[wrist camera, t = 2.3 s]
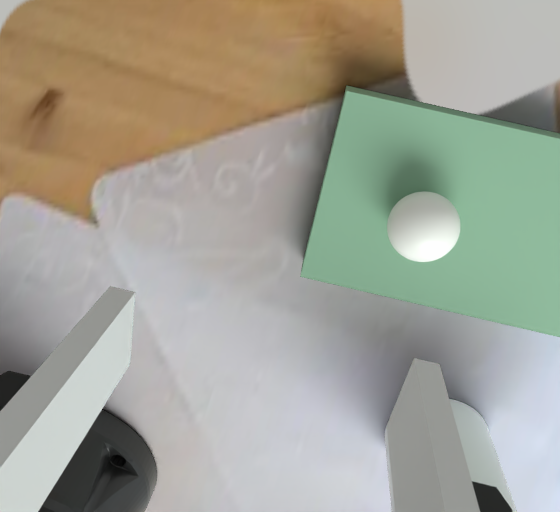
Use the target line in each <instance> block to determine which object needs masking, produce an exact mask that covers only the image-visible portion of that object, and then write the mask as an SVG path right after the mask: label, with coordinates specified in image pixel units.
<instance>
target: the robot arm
mask: <svg viewBox="0 0 560 512" xmlns="http://www.w3.org/2000/svg"><path fill="white" fill-rule="evenodd" d="M134 305H135V292H133V291H128V290H124V289H120V288H116V287H111V286H110V287H109V288H108V290H107V291H106V292H105V293H104V294H103V295H102V296H101V298H100V299H99V300H98V301H97V302H96V303H95V304H94V306H93V307H92V308H91V309H90V310H89V311H88V312H87V313H86V315H85V316H84V317H83V318H82V319H81V320H80V321H79V323H78V324H77V325H76V326H75V327H74V328H73V329H72V331H71V332H70V333H69V334H68V335H67V336H66V337H65V338H64V340H63V341H62V342H61V343H60V344H59V345H58V346H57V348H56V349H55V350H54V351H53V352H52V353H51V354H50V356H49V357H48V358H47V359H46V360H45V361H44V362H43V363H42V365H41V366H40V367H39V368H38V369H37V370H36V371H35V373H34V374H33V375H32V376H28V375H24V374H20V373H15V372H11V371H7V372H6V373H4V374H2V375H0V512H144V511H145V510H146V508H147V506H148V503H149V501H150V498H151V496H152V493H153V491H154V489H155V486H156V481H157V470H156V465H155V461H154V459H153V456H152V454H151V452H150V450H149V449H148V447H147V445H146V444H145V443H144V441H143V440H142V439H141V438H140V437H139V436H138V434H137V433H136V432H135V431H133V430H132V429H131V428H130V427H129V426H128V425H126V424H125V423H124V422H122V421H121V420H119V419H118V418H116V417H115V416H113V415H111V414H109V413H107V412H106V411H103V410H102V408H103V407H104V405H105V404H106V402H107V400H108V399H109V397H110V396H111V394H112V392H113V391H114V389H115V388H116V386H117V384H118V383H119V381H120V380H121V378H122V376H123V375H124V373H125V372H126V370H127V368H128V367H129V365H130V359H131V345H132V332H133V318H134ZM387 435H388V445H389V455H390V465H391V474H392V484H393V494H394V504H395V512H512V509H511V507H510V506H509V504H508V503H507V501H506V500H505V499H504V497H503V496H502V494H501V493H500V492H499V490H498V489H497V487H494V486H490V485H486V484H482V483H477V482H473V481H472V480H471V477H470V473H469V469H468V466H467V462H466V458H465V455H464V451H463V447H462V444H461V440H460V436H459V433H458V429H457V426H456V422H455V418H454V415H453V411H452V407H451V404H450V400H449V396H448V393H447V389H446V385H445V382H444V378H443V374H442V371H441V367H440V364H437V363H433V362H429V361H425V360H420V359H416V358H414V359H413V362H412V364H411V367H410V369H409V372H408V374H407V377H406V379H405V381H404V384H403V386H402V389H401V391H400V394H399V396H398V399H397V401H396V404H395V406H394V409H393V411H392V413H391V416H390V418H389V421H388V423H387Z"/></svg>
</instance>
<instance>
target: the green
mask: <svg viewBox="0 0 560 512" xmlns="http://www.w3.org/2000/svg"><path fill="white" fill-rule="evenodd" d="M423 191H426V192H433V193H437V194H439V195H441V196H443V197H445V198H446V199H448V200H449V201H450V202H451V203H452V204H453V206H454V207H455V208H456V210H457V212H458V215H459V218H460V234H459V238H458V240H457V242H456V244H455V246H454V247H453V248H452V249H451V251H449V252H448V253H447V254H446V255H445V256H443V257H441V258H439V259H437V260H434V261H430V262H417V261H412V260H409V259H407V258H405V257H404V256H402V255H401V254H399V253H398V252H397V251H396V250H395V249H394V247H393V246H392V244H391V242H390V240H389V237H388V233H387V221H388V217H389V215H390V212H391V210H392V209H393V207H394V206H395V205H396V204H397V202H398V201H400V200H401V199H402V198H404V197H405V196H407V195H409V194H412V193H415V192H423ZM300 277H304V278H308V279H313V280H317V281H321V282H326V283H330V284H334V285H338V286H343V287H347V288H351V289H356V290H360V291H364V292H368V293H373V294H377V295H381V296H386V297H390V298H394V299H398V300H403V301H407V302H411V303H416V304H420V305H424V306H428V307H433V308H437V309H441V310H446V311H450V312H454V313H458V314H463V315H467V316H471V317H476V318H480V319H484V320H488V321H493V322H497V323H501V324H506V325H510V326H514V327H518V328H523V329H527V330H531V331H536V332H540V333H544V334H548V335H553V336H557V337H560V133H556V132H552V131H547V130H543V129H538V128H534V127H529V126H525V125H520V124H516V123H512V122H507V121H503V120H498V119H494V118H489V117H485V116H480V115H476V114H471V113H467V112H463V111H458V110H454V109H449V108H445V107H440V106H436V105H431V104H427V103H423V102H418V101H414V100H409V99H405V98H400V97H396V96H391V95H387V94H383V93H378V92H374V91H369V90H365V89H360V88H356V87H351V86H347V85H346V89H345V93H344V97H343V102H342V106H341V110H340V114H339V118H338V122H337V126H336V130H335V134H334V138H333V142H332V146H331V150H330V154H329V158H328V162H327V166H326V170H325V174H324V178H323V182H322V186H321V190H320V195H319V199H318V203H317V207H316V211H315V215H314V219H313V223H312V227H311V231H310V235H309V239H308V243H307V247H306V251H305V255H304V259H303V265H302V270H301V276H300Z"/></svg>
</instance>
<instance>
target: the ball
mask: <svg viewBox="0 0 560 512" xmlns="http://www.w3.org/2000/svg"><path fill="white" fill-rule="evenodd" d="M387 233H388V237H389V240H390V242H391V244H392V246H393V247H394V249H395V250H396V251H397V252H398V253H399V254H401V255H402V256H404V257H405V258H407V259H409V260H412V261H417V262H430V261H434V260H437V259H439V258H441V257H443V256H445V255H446V254H447V253H448V252H449V251H451V249H452V248H453V247H454V246H455V244H456V242H457V240H458V238H459V234H460V218H459V215H458V212H457V210H456V208H455V207H454V206H453V204H452V203H451V202H450V201H449V200H448V199H446V198H445V197H443V196H441V195H439V194H437V193H433V192H426V191H423V192H415V193H412V194H409V195H407V196H405V197H404V198H402V199H401V200H400V201H398V202H397V204H396V205H395V206H394V207H393V209H392V210H391V212H390V215H389V217H388V221H387Z"/></svg>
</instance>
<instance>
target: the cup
mask: <svg viewBox="0 0 560 512" xmlns="http://www.w3.org/2000/svg"><path fill="white" fill-rule="evenodd" d="M449 400H450V404H451V407H452V411H453V415H454V418H455V422H456V426H457V429H458V433H459V436H460V440H461V444H462V447H463V451H464V455H465V458H466V462H467V466H468V469H469V473H470V477H471V480H472V481H473V482H477V483H482V484H486V485H490V486H494V487H497V489H498V490H499V492H500V493H501V494H502V496H503V497H504V499H505V500H506V501H507V503H508V504H509V506H510V507H511V509H512V512H517V510H516V507H515V505H514V502H513V499H512V496H511V493H510V490H509V487H508V485H507V482H506V479H505V476H504V473H503V470H502V467H501V464H500V462H499V459H498V456H497V453H496V450H495V447H494V444H493V441H492V439H491V436H490V433H489V430H488V427H487V425H486V422H485V421H484V419H483V418H482V416H481V415H480V414H479V413H478V412H477V411H476V410H475V409H473V408H472V407H470V406H469V405H467V404H465V403H462V402H460V401H456V400H453V399H449ZM385 447H386V457H387V468H388V478H389V489H390V500H391V510H392V512H395V504H394V494H393V484H392V474H391V465H390V455H389V445H388V435H387V426H386V429H385Z"/></svg>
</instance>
